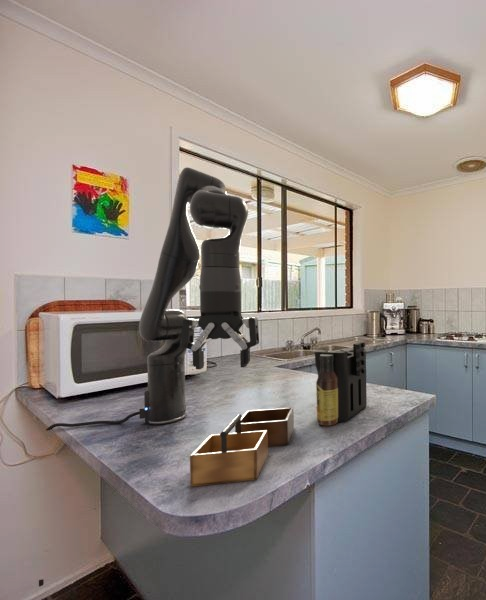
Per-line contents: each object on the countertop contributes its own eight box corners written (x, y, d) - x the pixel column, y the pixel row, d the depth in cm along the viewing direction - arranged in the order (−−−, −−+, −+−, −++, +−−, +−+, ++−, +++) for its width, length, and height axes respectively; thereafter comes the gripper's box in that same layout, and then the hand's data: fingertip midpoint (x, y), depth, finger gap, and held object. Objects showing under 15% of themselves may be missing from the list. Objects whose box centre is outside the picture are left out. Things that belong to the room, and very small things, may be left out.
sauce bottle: (320, 418, 97) (319, 352, 97) (341, 418, 97) (340, 352, 97) (314, 427, 91) (313, 356, 91) (336, 427, 91) (335, 355, 91)
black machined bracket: (313, 421, 95) (312, 346, 95) (347, 400, 115) (346, 337, 115) (350, 425, 92) (348, 347, 92) (378, 403, 111) (377, 338, 111)
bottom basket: (235, 449, 78) (235, 424, 78) (247, 432, 88) (247, 410, 88) (287, 444, 80) (287, 420, 80) (293, 429, 90) (293, 407, 90)
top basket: (190, 486, 63) (189, 434, 63) (210, 461, 72) (210, 416, 72) (256, 479, 65) (256, 428, 65) (268, 456, 75) (267, 411, 74)
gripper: (261, 290, 73) (262, 362, 73) (192, 290, 71) (192, 365, 71) (252, 289, 66) (253, 370, 66) (174, 289, 63) (175, 373, 63)
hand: (222, 367), depth 68 cm, fingers open, 8 cm apart
